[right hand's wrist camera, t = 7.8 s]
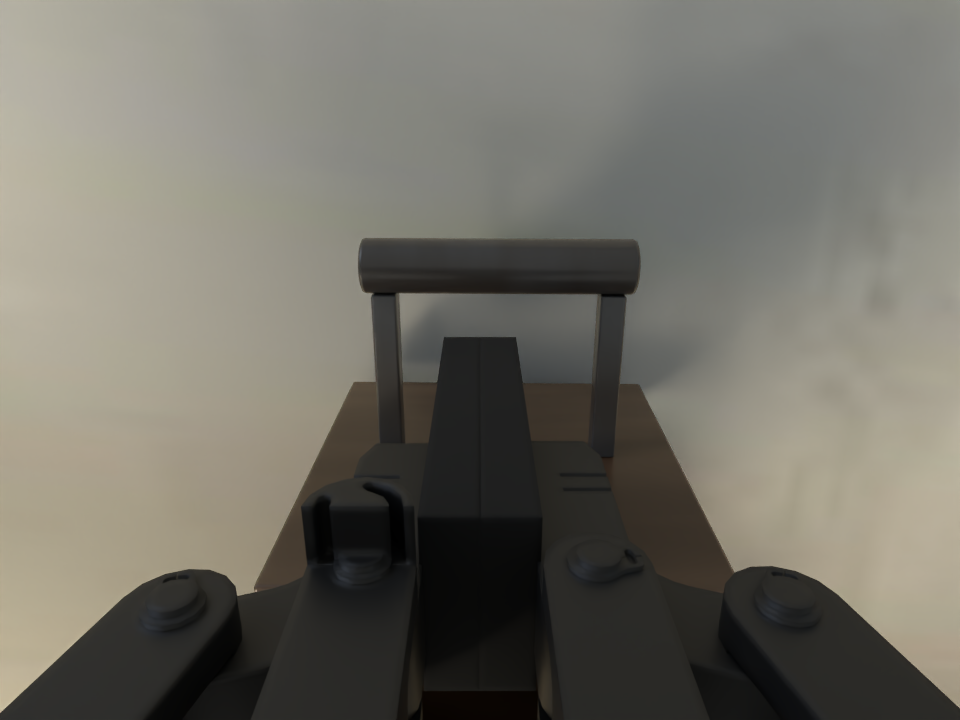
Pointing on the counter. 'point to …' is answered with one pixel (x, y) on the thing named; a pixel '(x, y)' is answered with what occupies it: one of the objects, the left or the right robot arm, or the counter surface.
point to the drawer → (550, 408)
